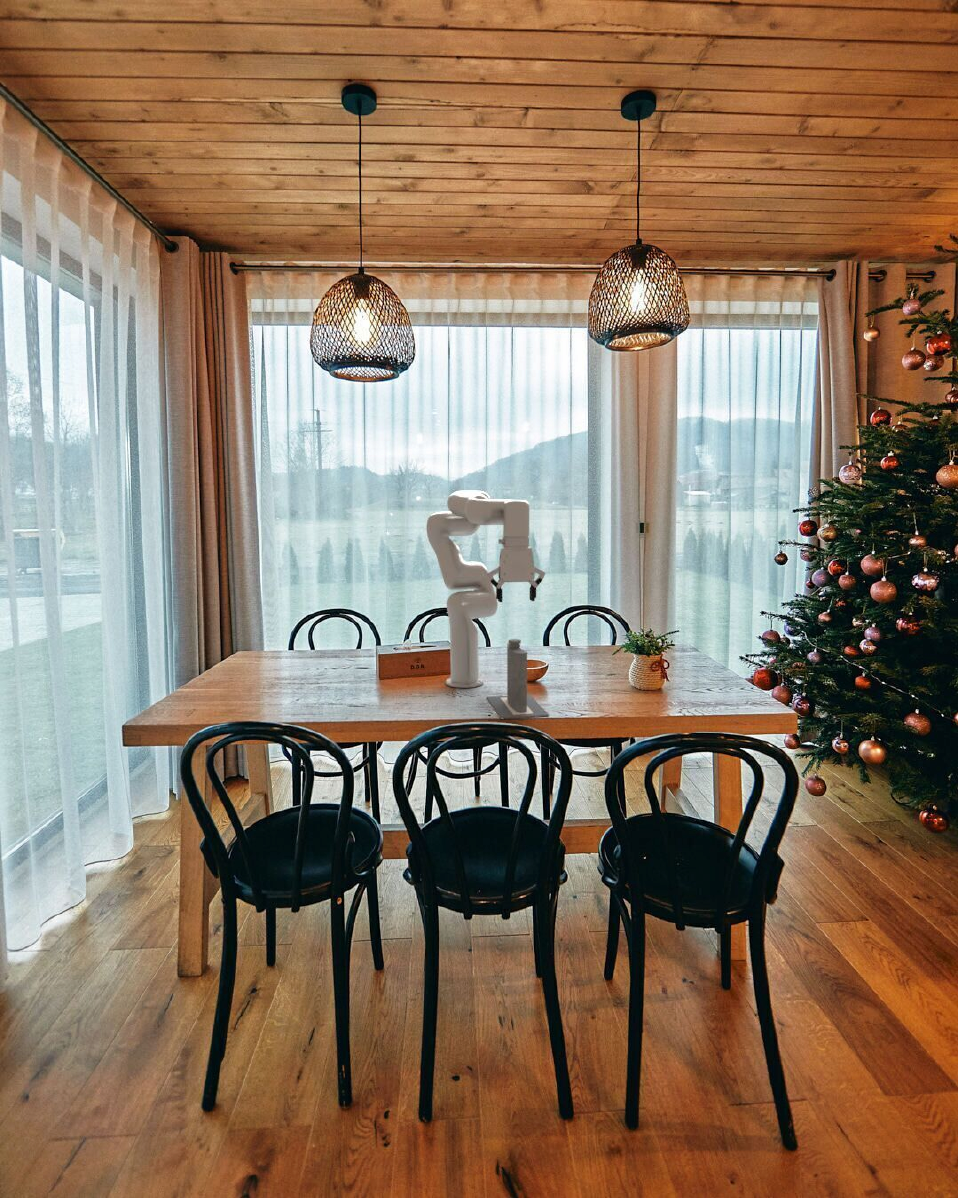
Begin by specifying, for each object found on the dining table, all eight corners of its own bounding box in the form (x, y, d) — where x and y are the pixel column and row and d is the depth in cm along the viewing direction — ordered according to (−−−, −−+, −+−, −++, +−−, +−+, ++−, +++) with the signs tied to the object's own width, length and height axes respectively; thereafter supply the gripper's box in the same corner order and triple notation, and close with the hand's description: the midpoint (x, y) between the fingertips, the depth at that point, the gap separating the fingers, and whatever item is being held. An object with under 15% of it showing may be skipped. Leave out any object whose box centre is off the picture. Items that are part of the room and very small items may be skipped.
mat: (486, 698, 217) (486, 696, 217) (529, 695, 219) (529, 694, 219) (501, 719, 195) (501, 717, 195) (548, 716, 198) (548, 714, 198)
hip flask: (527, 712, 200) (528, 644, 197) (514, 713, 199) (514, 645, 197) (516, 697, 215) (516, 634, 213) (503, 698, 215) (503, 635, 212)
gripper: (489, 544, 196) (489, 603, 198) (548, 543, 199) (548, 602, 201) (484, 542, 203) (484, 600, 205) (541, 541, 206) (541, 598, 208)
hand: (516, 601), depth 203 cm, fingers open, 9 cm apart
